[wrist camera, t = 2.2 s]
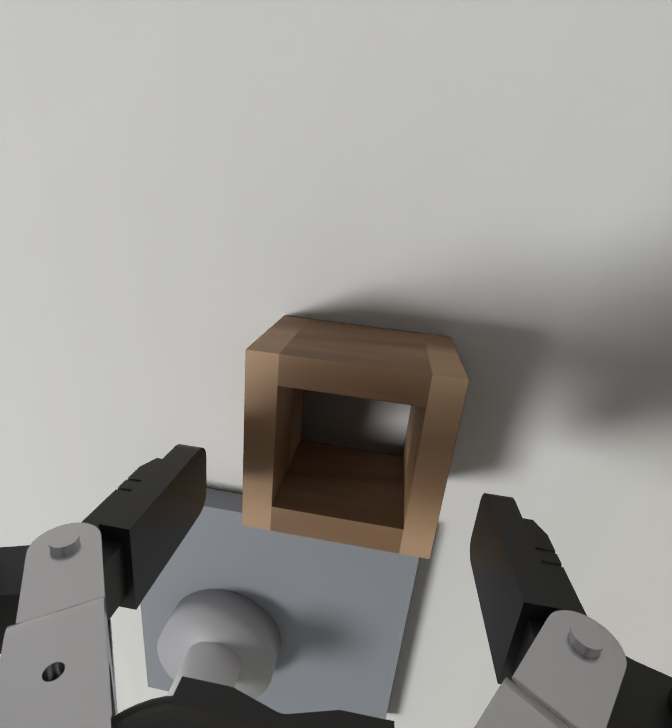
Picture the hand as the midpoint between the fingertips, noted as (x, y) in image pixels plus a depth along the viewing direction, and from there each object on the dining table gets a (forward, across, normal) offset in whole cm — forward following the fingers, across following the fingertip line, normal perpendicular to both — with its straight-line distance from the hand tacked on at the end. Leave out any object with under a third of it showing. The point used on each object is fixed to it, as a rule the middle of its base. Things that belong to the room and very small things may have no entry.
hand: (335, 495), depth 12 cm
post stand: (+6, +3, +12) cm, 13 cm away
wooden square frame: (+6, 0, 0) cm, 6 cm away
